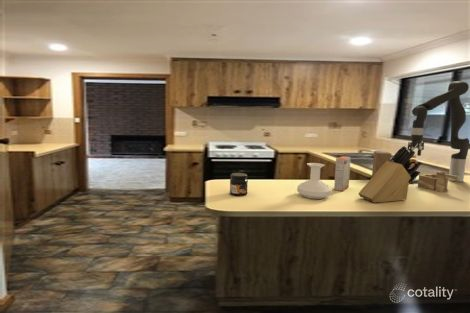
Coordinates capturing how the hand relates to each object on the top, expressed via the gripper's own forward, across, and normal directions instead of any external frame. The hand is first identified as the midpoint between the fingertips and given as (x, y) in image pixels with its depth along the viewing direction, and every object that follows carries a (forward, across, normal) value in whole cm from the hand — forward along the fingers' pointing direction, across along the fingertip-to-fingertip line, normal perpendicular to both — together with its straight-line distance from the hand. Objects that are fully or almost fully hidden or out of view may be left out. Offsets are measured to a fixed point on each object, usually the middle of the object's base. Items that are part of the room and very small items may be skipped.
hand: (414, 155), depth 228 cm
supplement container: (+17, -139, +7) cm, 141 cm away
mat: (+19, 0, 0) cm, 19 cm away
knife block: (+18, -59, -30) cm, 69 cm away
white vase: (+18, -98, -11) cm, 100 cm away
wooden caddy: (+19, -4, -21) cm, 29 cm away
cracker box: (+18, -69, -2) cm, 72 cm away
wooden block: (+19, -14, +17) cm, 29 cm away
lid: (+19, -4, 0) cm, 19 cm away
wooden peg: (+10, -8, -30) cm, 32 cm away
